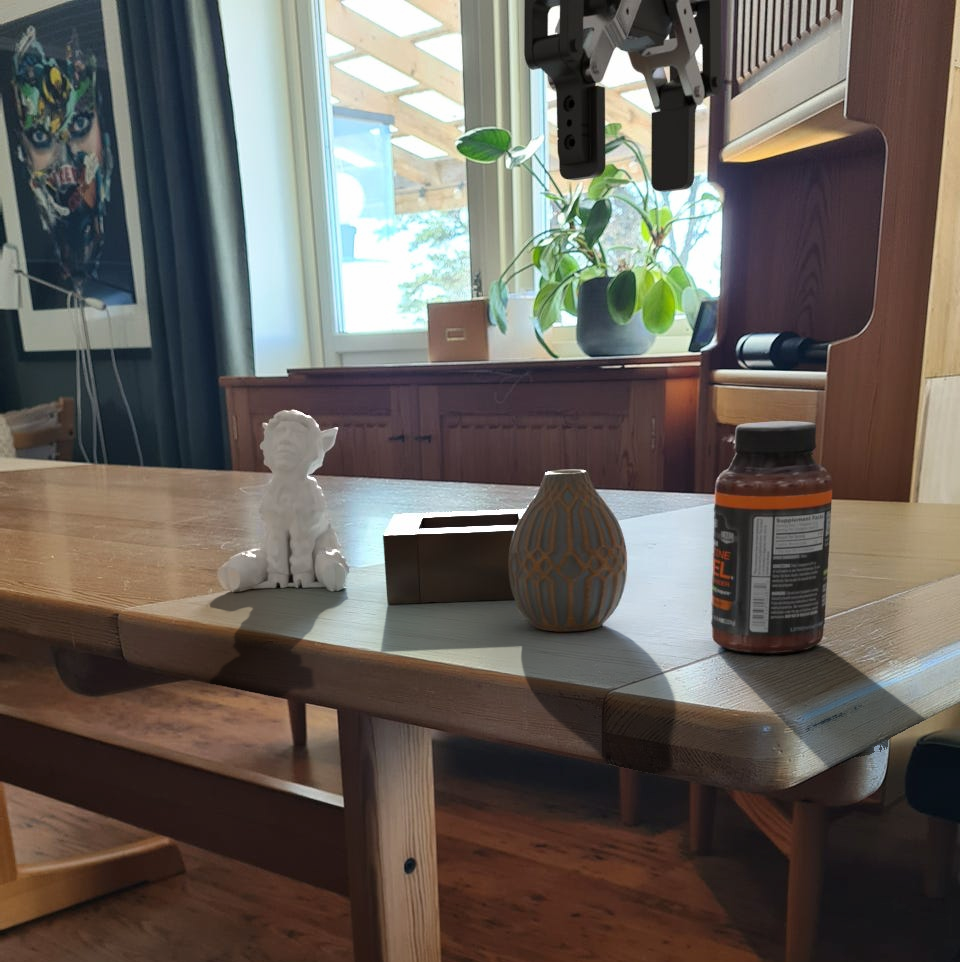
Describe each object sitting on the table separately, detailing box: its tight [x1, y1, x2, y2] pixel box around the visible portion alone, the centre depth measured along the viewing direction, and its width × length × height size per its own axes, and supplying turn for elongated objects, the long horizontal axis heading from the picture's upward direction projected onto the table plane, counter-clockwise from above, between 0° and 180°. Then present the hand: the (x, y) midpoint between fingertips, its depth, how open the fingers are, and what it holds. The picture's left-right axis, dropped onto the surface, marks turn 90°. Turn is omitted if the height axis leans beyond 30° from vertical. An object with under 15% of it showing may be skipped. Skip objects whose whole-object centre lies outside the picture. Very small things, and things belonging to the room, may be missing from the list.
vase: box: [508, 469, 628, 633], centre depth 74 cm, size 7×7×9 cm
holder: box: [382, 508, 526, 605], centre depth 89 cm, size 11×11×4 cm
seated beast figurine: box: [216, 409, 350, 593], centre depth 92 cm, size 10×9×12 cm
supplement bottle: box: [710, 420, 833, 655], centre depth 67 cm, size 6×6×11 cm
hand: (629, 184), depth 65 cm, fingers open, 8 cm apart
